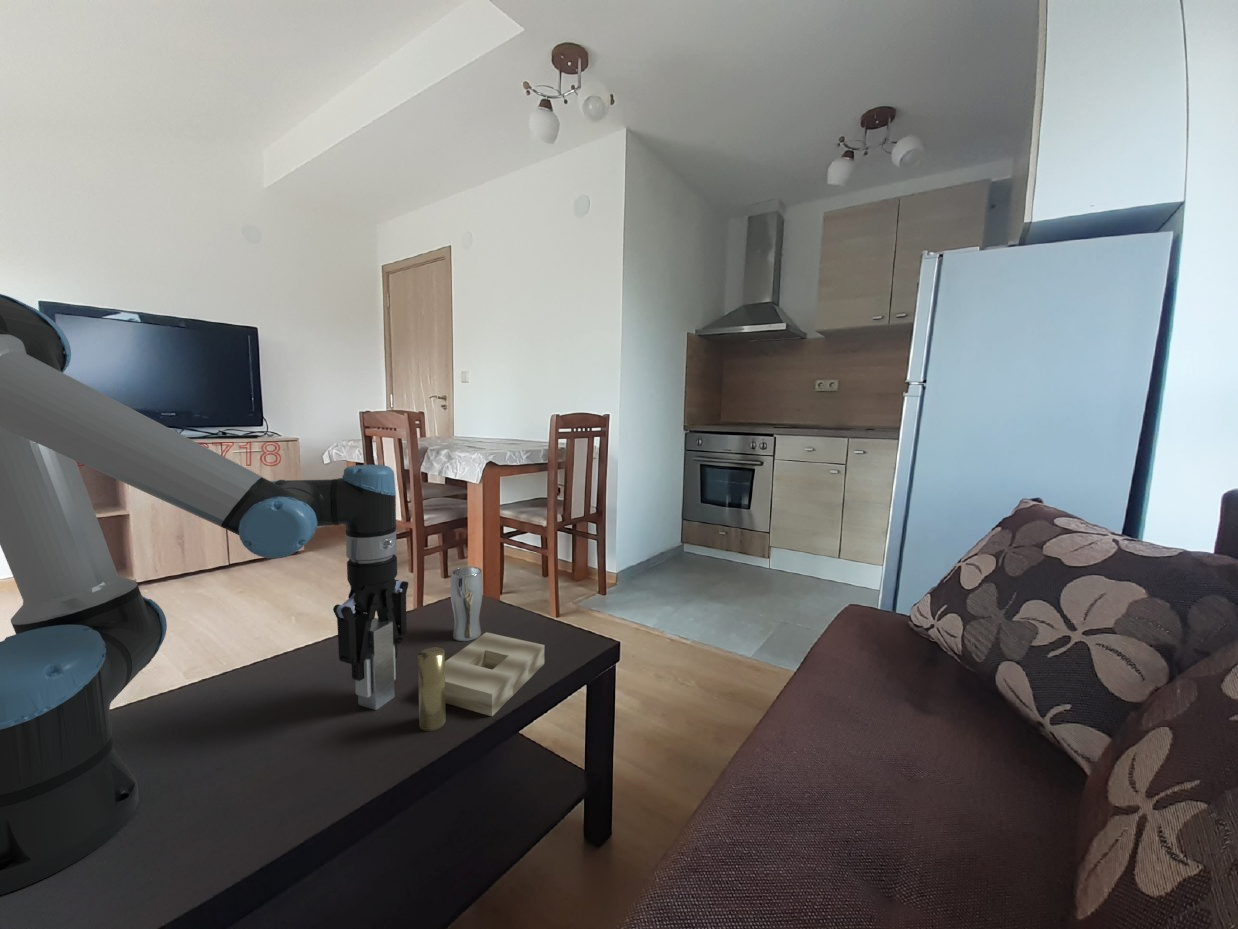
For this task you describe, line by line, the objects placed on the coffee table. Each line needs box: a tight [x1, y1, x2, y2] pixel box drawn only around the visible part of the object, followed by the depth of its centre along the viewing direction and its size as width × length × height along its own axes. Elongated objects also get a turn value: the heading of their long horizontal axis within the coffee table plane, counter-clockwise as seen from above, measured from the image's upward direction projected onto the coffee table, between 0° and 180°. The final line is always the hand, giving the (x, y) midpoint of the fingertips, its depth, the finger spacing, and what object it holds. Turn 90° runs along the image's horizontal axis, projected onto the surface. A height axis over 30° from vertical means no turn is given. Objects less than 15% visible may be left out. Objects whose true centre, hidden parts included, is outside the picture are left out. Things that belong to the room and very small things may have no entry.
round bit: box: [417, 646, 446, 732], centre depth 76 cm, size 4×4×12 cm
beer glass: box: [449, 566, 484, 642], centre depth 106 cm, size 7×7×15 cm
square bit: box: [357, 617, 396, 711], centre depth 82 cm, size 4×4×14 cm
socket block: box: [445, 632, 545, 717], centre depth 90 cm, size 18×14×4 cm
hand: (376, 686), depth 82 cm, fingers open, 4 cm apart
